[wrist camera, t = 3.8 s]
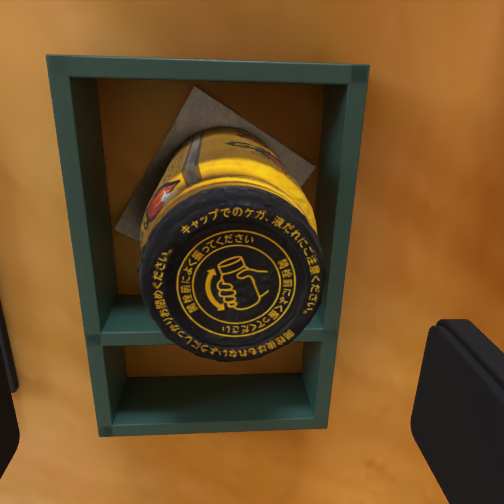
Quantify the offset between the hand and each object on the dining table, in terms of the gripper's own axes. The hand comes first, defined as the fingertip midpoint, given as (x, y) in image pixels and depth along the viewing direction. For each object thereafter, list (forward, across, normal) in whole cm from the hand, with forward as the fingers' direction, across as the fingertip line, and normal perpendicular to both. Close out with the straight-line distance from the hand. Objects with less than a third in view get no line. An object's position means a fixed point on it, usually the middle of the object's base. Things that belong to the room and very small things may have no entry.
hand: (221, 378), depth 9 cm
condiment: (+15, 0, 0) cm, 15 cm away
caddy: (+15, 0, +3) cm, 15 cm away
